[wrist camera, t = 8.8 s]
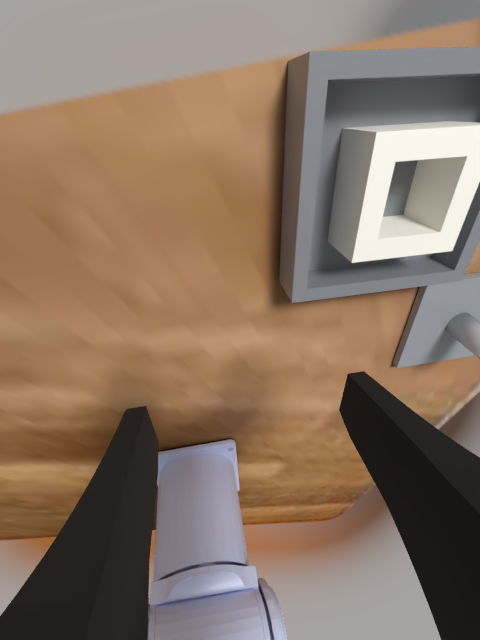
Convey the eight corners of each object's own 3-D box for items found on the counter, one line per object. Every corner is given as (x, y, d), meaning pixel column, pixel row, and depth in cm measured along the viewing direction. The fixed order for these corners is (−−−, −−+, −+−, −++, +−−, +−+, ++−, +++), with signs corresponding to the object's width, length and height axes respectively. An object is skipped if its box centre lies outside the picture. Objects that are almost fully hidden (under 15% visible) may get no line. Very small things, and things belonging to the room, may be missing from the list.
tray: (431, 263, 20) (461, 281, 18) (279, 281, 19) (291, 303, 17) (508, 53, 14) (566, 43, 12) (288, 61, 13) (309, 51, 11)
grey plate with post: (476, 349, 26) (531, 394, 22) (392, 363, 25) (433, 412, 21) (523, 266, 22) (604, 304, 18) (422, 279, 21) (482, 321, 17)
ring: (448, 121, 15) (502, 123, 12) (415, 231, 18) (452, 251, 15) (342, 128, 14) (376, 132, 12) (327, 241, 17) (351, 262, 15)
